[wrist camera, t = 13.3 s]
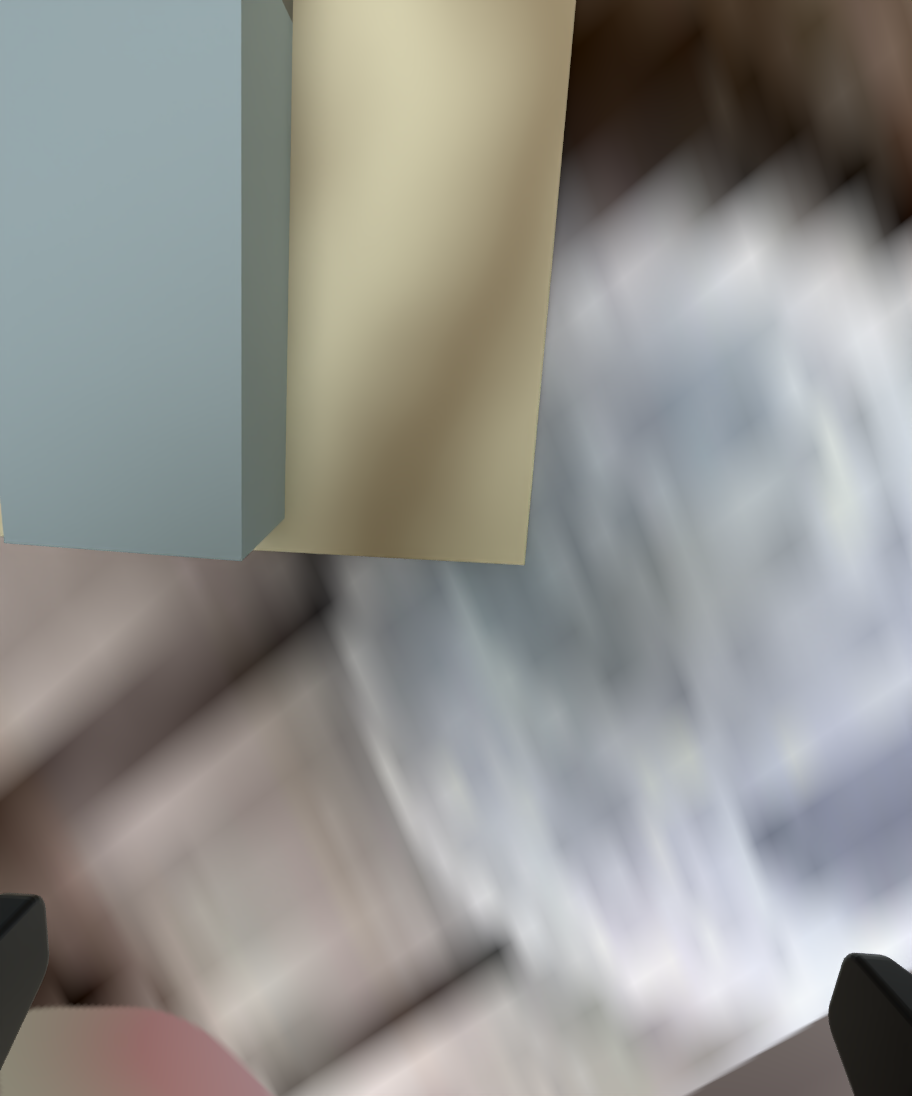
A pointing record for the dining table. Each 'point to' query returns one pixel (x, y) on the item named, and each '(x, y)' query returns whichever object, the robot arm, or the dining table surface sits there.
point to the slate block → (144, 273)
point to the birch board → (419, 272)
